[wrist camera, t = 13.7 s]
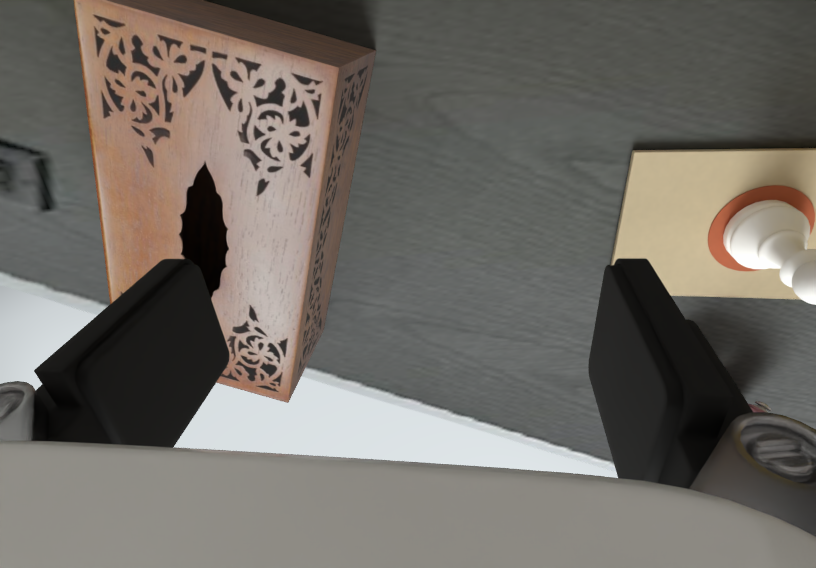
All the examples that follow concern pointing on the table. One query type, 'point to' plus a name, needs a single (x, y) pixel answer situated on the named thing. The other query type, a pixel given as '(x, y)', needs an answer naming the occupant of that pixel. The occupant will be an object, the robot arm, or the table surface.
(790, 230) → the chess pawn
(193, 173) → the tissue box cover
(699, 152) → the mat
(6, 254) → the table surface
